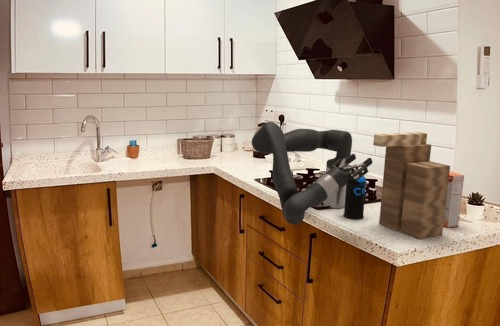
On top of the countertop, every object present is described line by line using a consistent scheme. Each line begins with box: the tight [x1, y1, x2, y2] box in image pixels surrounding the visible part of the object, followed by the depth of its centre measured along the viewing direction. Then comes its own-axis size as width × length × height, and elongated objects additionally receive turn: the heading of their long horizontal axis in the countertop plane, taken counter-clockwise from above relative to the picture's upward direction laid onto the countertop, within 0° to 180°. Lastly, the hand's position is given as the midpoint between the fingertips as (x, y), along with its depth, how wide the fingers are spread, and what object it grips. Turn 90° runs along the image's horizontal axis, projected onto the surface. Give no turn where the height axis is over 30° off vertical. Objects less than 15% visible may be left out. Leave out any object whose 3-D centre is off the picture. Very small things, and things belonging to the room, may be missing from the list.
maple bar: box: [372, 131, 428, 148], centre depth 176 cm, size 23×4×4 cm, turn 119°
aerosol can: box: [343, 167, 368, 220], centre depth 192 cm, size 8×8×20 cm
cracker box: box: [443, 170, 465, 228], centre depth 188 cm, size 14×6×21 cm, turn 21°
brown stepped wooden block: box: [378, 143, 451, 240], centre depth 177 cm, size 14×19×32 cm
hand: (362, 157), depth 168 cm, fingers open, 8 cm apart
